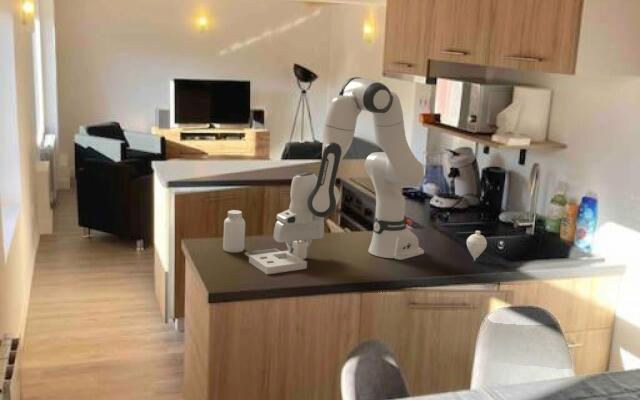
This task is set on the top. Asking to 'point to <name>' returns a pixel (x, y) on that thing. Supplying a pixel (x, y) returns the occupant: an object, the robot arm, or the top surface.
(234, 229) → the pill bottle
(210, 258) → the top surface
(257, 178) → the top surface
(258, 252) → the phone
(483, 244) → the spinning top
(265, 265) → the outlet plate
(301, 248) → the charger
